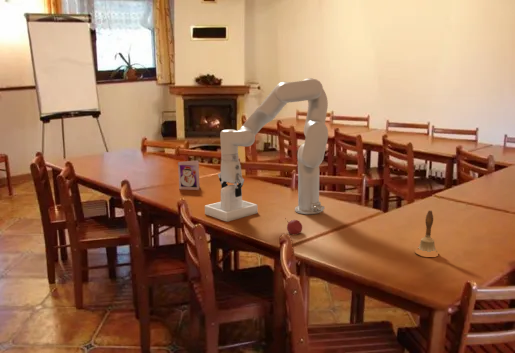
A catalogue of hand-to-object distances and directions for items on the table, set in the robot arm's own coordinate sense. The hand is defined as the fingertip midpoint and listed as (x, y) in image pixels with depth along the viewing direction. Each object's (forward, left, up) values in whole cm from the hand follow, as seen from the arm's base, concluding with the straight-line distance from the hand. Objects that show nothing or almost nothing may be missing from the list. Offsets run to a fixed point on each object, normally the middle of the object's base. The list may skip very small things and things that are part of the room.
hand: (231, 194), depth 231 cm
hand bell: (-87, -19, -9) cm, 89 cm away
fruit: (-37, -1, -9) cm, 38 cm away
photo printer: (0, 0, -8) cm, 8 cm away
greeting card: (+52, -14, -9) cm, 55 cm away
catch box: (0, 0, -9) cm, 9 cm away
